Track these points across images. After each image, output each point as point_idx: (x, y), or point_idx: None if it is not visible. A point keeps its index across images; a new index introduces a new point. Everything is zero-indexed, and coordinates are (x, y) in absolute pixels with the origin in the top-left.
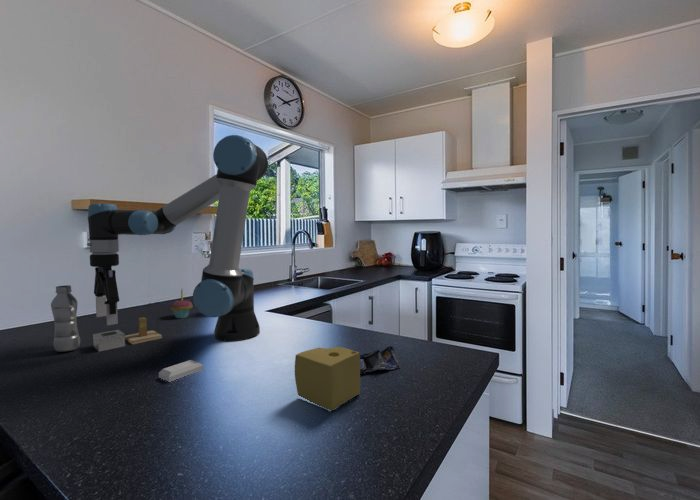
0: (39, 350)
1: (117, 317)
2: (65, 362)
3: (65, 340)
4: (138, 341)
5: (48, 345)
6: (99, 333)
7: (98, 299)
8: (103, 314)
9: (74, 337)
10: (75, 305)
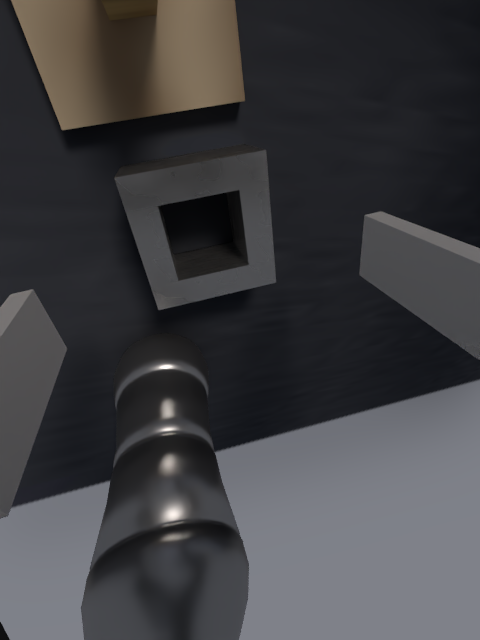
0: (100, 428)
1: (412, 224)
2: (305, 340)
3: (208, 389)
4: (238, 55)
5: None
6: (161, 283)
7: (2, 472)
8: (39, 318)
9: (198, 371)
10: (209, 528)
